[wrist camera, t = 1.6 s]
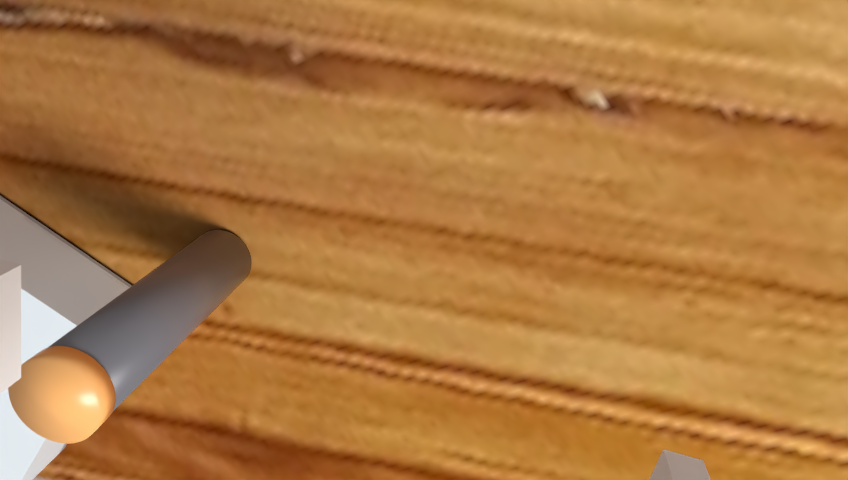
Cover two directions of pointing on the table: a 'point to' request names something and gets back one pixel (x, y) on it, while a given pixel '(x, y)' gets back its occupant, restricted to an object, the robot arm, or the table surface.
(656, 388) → the table surface
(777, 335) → the table surface
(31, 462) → the socket block
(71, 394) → the marker
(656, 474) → the robot arm
